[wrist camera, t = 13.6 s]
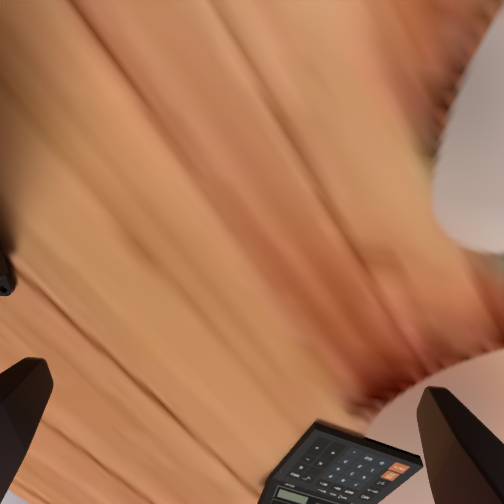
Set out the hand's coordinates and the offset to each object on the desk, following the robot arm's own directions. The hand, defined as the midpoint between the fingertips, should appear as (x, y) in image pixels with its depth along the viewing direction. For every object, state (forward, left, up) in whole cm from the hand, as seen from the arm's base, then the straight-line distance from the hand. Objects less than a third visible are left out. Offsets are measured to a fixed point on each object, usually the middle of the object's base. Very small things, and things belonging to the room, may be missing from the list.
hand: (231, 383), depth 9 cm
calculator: (+7, -25, -12) cm, 29 cm away
